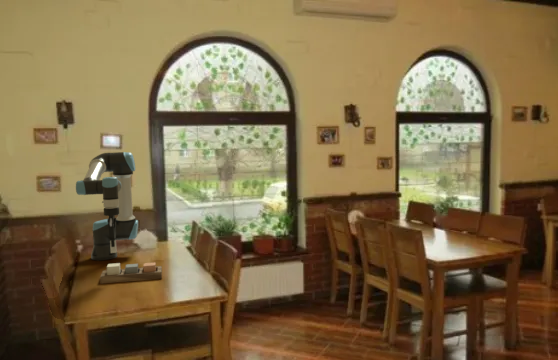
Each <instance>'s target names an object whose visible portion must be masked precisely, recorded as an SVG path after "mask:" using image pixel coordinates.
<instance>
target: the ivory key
mask: <svg viewBox="0 0 558 360" xmlns="http://www.w3.org/2000/svg"><path fill="white" fill-rule="evenodd" d="M121 269H122V268H121V263H120V262H116V263H108V264H107V266H106V270H107V275H116V274H120V272H121Z"/></svg>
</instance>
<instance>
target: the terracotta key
mask: <svg viewBox="0 0 558 360" xmlns="http://www.w3.org/2000/svg"><path fill="white" fill-rule="evenodd" d="M156 266H157V263H156V262H155V261H154V262H145V263H144V262H143V268H144V272H154V271H156Z"/></svg>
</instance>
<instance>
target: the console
mask: <svg viewBox="0 0 558 360" xmlns="http://www.w3.org/2000/svg"><path fill="white" fill-rule="evenodd" d="M120 269H121V272H120V274H116V275H107V269H105V270H102V272H101V274H100V276H99V279H100V281H99V282H100V284H101V285H102V284H111V283H112V284H113V283H123V282H139V281H148V280H159V279H161V280H162V278H163V277H162V276H163V269H162V265H156V271H154V272H144V268H143V267H138V273H129V274H126V272H125V268H120Z"/></svg>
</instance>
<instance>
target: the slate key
mask: <svg viewBox="0 0 558 360" xmlns="http://www.w3.org/2000/svg"><path fill="white" fill-rule="evenodd" d="M138 268H139V263H130V264H129V263H128V264H125V268H124V269H125V272H126V274H129V273H138Z"/></svg>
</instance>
